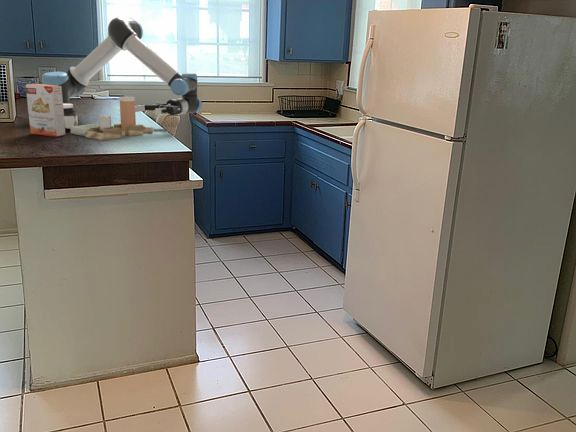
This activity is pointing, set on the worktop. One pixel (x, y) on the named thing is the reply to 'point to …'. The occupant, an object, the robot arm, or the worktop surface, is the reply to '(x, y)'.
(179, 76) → the robot arm
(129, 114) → the lidded box
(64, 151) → the worktop surface
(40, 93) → the cracker box
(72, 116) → the spread jar
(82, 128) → the tray
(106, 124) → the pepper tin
